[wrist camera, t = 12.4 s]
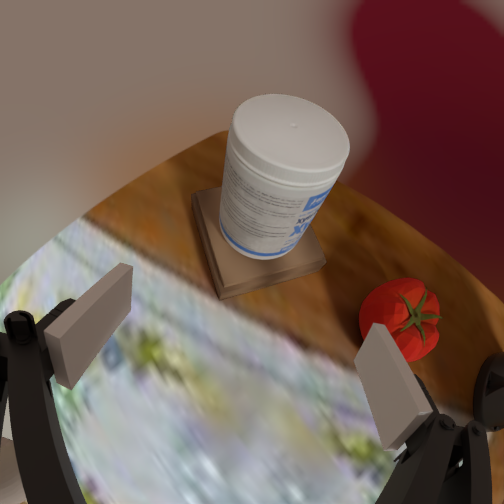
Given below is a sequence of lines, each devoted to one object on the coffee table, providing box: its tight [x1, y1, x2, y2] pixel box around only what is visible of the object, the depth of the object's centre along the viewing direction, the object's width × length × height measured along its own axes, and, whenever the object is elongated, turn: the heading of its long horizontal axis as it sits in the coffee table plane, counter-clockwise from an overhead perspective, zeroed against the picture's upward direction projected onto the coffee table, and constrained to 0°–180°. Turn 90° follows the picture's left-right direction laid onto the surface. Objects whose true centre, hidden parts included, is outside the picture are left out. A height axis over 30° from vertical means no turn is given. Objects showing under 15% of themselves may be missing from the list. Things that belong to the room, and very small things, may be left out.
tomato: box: [359, 277, 443, 362], centre depth 30 cm, size 11×11×9 cm
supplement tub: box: [219, 94, 350, 260], centre depth 26 cm, size 10×10×15 cm
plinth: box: [191, 186, 327, 300], centre depth 35 cm, size 13×13×4 cm
